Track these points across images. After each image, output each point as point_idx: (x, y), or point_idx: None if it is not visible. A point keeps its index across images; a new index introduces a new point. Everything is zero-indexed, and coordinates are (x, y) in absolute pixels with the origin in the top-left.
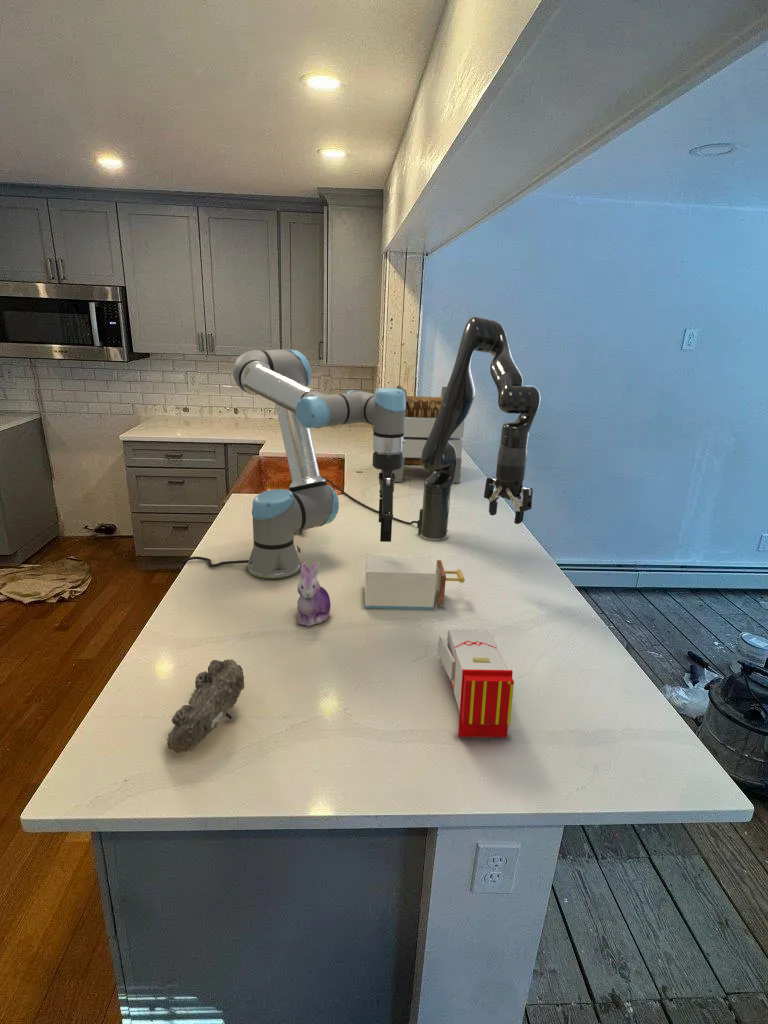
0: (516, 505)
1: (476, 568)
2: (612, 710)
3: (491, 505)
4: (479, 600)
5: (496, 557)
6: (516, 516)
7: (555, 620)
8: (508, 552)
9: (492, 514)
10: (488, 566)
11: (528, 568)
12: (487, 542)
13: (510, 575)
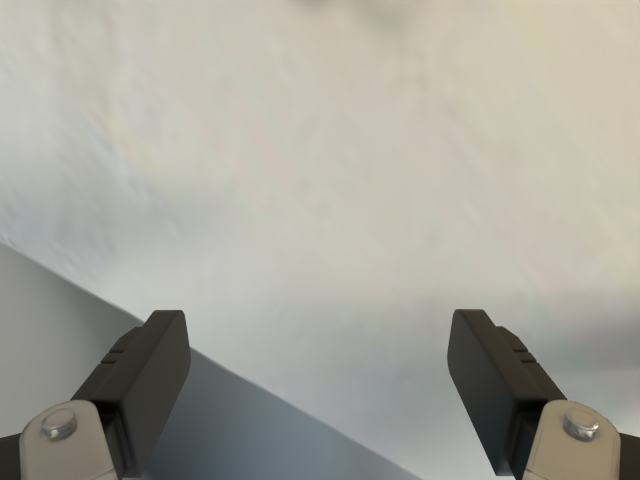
0: (71, 470)
1: (464, 243)
2: None
3: (512, 372)
4: (298, 48)
5: None
6: (133, 354)
7: (63, 158)
8: (458, 407)
9: (456, 322)
10: (444, 286)
11: (348, 369)
12: None
13: (354, 291)
